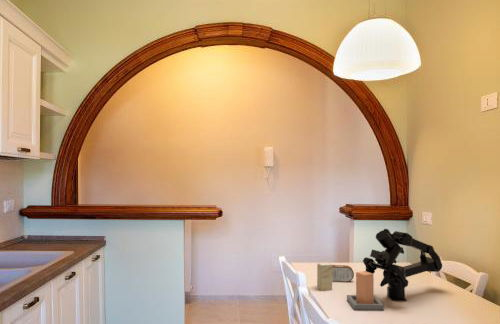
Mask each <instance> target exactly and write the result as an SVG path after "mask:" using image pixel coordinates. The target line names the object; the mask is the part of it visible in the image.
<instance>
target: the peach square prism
mask: <svg viewBox="0 0 500 324" xmlns="http://www.w3.org/2000/svg"><path fill="white" fill-rule="evenodd" d="M374 284H375V283H374V274H373V273H370V272H366V270H362V271H356V272H355V290H356V291H355V293H356V294H355V295H356V303H358V304H374V296H375V292H374V289H375V288H374Z"/></svg>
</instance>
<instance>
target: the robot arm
mask: <svg viewBox="0 0 500 324" xmlns="http://www.w3.org/2000/svg"><path fill="white" fill-rule="evenodd" d="M375 240H376V241H377V242H378V243H379V244H380V245H381V246H382V247H383V248H384V249H385V250H381V251H379V250H376V249H371V252H370V255H369V257H364V258H363V259H362V263H363V264H364V266H365V271H366V272H370V273H373V275H374V273H376V270H377V269H380V270H382V271H383V272H382V276H383V278H382V279H381V282H380V284H379V285H380V287H384V286H386V285H387V287H386V297H388V298H389V300H391V301H404V302H405V301H407V299H406V295H405V294H406V290H405V289H406V287H408V285H409V281H408V279H407V278H408V277H411V276H412V277H413V276H415V275H419V274H422V273H424V272H430V273H431V272H432V273H438V272H440V271H441V270H442V268H443V263H442V259H441V257H440V256H439V254H438V253H437V252H436V251H435V248H434V247H433V245H431V244H427V243H425V242H423V241H420V240H418V239H415V238H413V236H412V235H411V234H409V233H408V232H404V231H397V230H395V231H394V232H393V233H391V231H390V230H389V228H388V229H387V228H384V229H383V230H380V231H378V232H377V233H376V235H375ZM402 246H407V247H410V248H413V249H415V250H418V251H420V255H419V258H420V261H419V262H416V263H411V264H408V265H403V266H401V265H397V264H396V263H397V262H398V261H397V258H398V257H399V255H400V254H402V255H403V254H405V251H404V247H402ZM426 254H428V255H429V256H430V257H429V256H426ZM373 258H374V259H373Z"/></svg>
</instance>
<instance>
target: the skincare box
mask: <svg viewBox="0 0 500 324" xmlns="http://www.w3.org/2000/svg"><path fill="white" fill-rule="evenodd" d="M332 265H333V264H332V263H330V262H321V263H320V262H319V263H317V265H316V266H317V267H316V273H317V274H316V277H317V279H316V284H317V285H316V286H317V289H318V290H319V291H332V290H333V282H332Z"/></svg>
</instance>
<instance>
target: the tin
mask: <svg viewBox="0 0 500 324" xmlns="http://www.w3.org/2000/svg"><path fill="white" fill-rule="evenodd" d="M354 278H355V273H354V270H353V268H352V267H351V266H349V265H347V264H345V265H344V264H343V265H342V264H332V283H334V282H336V283H350V282H351V281H353V279H354Z"/></svg>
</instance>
